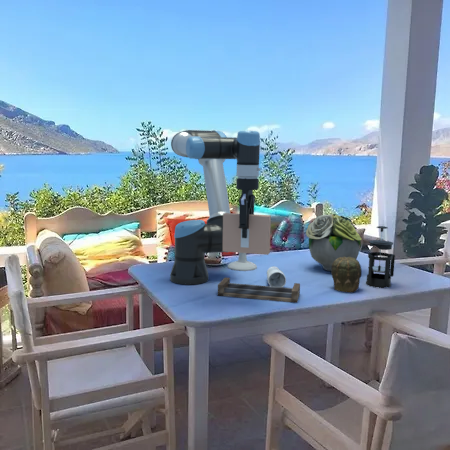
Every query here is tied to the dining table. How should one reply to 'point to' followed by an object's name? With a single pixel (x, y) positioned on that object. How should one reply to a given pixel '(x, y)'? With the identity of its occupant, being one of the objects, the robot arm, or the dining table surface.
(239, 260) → the candlestick
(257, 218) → the door panel
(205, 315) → the dining table surface
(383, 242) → the french press
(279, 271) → the drinking glass
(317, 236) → the flower arrangement
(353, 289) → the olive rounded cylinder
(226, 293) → the brown wooden rack
